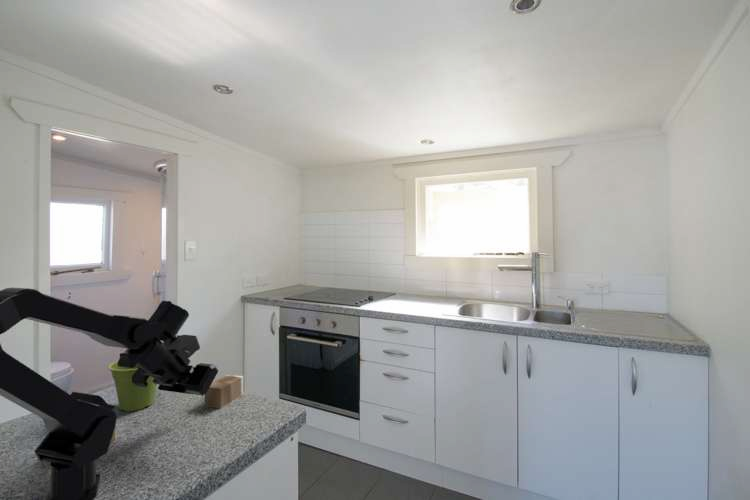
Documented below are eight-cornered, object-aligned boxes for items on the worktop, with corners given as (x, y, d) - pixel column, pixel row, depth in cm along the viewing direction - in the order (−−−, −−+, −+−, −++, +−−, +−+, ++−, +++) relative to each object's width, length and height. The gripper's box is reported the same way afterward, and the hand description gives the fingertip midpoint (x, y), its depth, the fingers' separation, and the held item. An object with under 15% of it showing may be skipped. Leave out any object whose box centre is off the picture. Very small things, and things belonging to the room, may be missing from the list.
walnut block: (221, 408, 89) (243, 394, 98) (221, 388, 89) (243, 376, 97) (204, 405, 90) (227, 391, 99) (204, 386, 90) (227, 374, 99)
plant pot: (156, 392, 98) (157, 352, 98) (169, 405, 90) (169, 362, 90) (103, 405, 89) (104, 361, 89) (112, 421, 81) (113, 373, 81)
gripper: (213, 328, 76) (243, 364, 86) (145, 322, 81) (181, 357, 91) (184, 377, 68) (220, 410, 79) (110, 367, 73) (154, 400, 83)
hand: (193, 392), depth 83 cm, fingers closed
